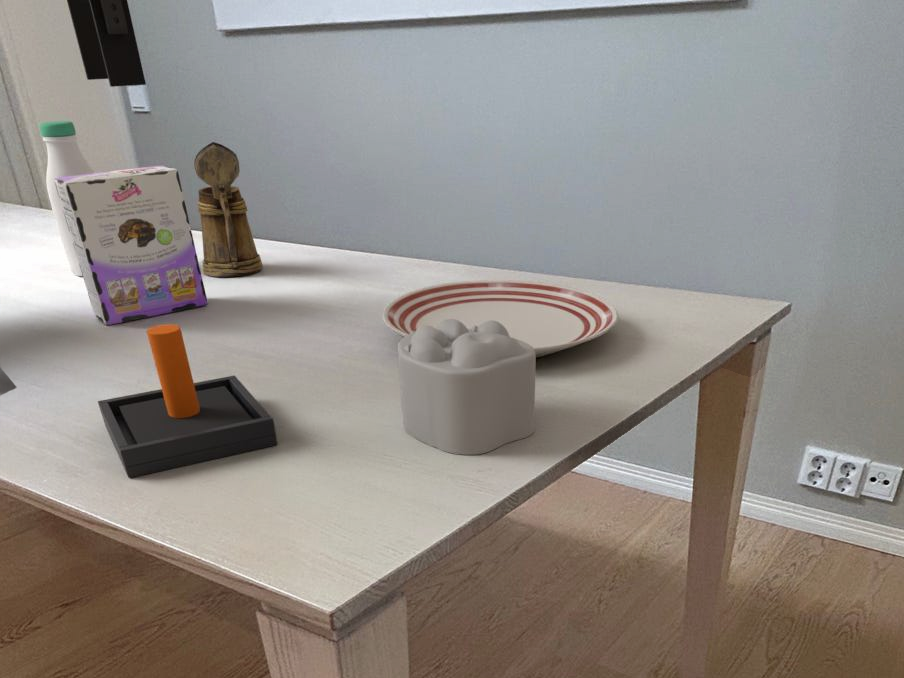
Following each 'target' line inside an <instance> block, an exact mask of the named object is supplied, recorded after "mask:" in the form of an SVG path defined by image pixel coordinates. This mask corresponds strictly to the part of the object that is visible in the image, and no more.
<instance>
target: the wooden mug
mask: <svg viewBox="0 0 904 678" xmlns="http://www.w3.org/2000/svg"><path fill="white" fill-rule="evenodd" d="M194 169H195V173H196V175H197V177H198V179H200V180H201V181H202V182H203V183H205V184H206V185H208V186H205V187H203V188H200V189H198V200H197V208H198V210H197V211H198V213H199V214H200V225H201V237H202V238H201V239H202V251H203V252H202V253H203V260H202V261H201V262H202V271H203V274H204V275H207V276H209V277H214V278H215V277H216V278H235V277H243V276H248V275H252V274H256V273H258V272H260V271H261V270H262V269H263V268H264V266H263V262H262V258H261V255H260V254H259V253H258V251H257V247H256V244H255V240H254V236H253V233H252V230H251V226H250V223H249V220H248V215H247V212H248V207H247V203H246V201H245V199H244V198H243V197H242V193H241V191H240V189H239V187H238V186H233V183H234V182H235V181H236V180H237V178H238V177H239V175H240V161H239V159H238V156H237V154H236V153H235V152H234V150H232V149H230V148H229V147H227V146H225V145H223V144H221V143H218V142H215V141H212V142H210V143H209V144H207V145H205V146H204V147H203V148H201V149H200V150H199V151H198V153H197V154H196V155H195V158H194Z"/></svg>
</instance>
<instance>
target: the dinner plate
mask: <svg viewBox="0 0 904 678" xmlns="http://www.w3.org/2000/svg"><path fill="white" fill-rule="evenodd" d="M618 318H619V315H618V311H617V309H616V308H615V307H614V305H612V304H611V303H610V302H609V301H607V300H606V299H604V298H603V297H601V296H599V295H596V294H594V293H591V292H589V291H586V290H582V289H579V288H575V287H571V286H567V285H561V284H554V283H550V282H549V283H548V282H541V281H532V280H531V281H530V280H514V279H513V280H512V279H511V280H509V279H508V280H507V279H506V280H505V279H486V280H485V279H480V280H478V279H477V280H465V281H455V282H445V283H440V284H433V285H429V286H425V287H421V288H417V289H413V290H411V291H408V292H406V293H404V294H402V295H399V296H398V297H395V298H394V299H393V300H391V301H390V302H388V304H387V305H386V306H385V307H384V309H383V310H382V320H383V322H384V324H385V325H386V326H387V328H389V329H390V330H392V331H393V332H394V333H395V334H397V335H398V336H400V337H402V338H404V337H405V336H406V335H408V334H410V333H412V332H413V331H415V332H416V330H417V329H419V328H420V327H422V326H432V327H434V328H435V327H436V326H437V325H438V324H439V323H440V322H442V321H444V320H447V319H456V320H458V321H460V322H462V323H463V324H464V325H465V326H466V328H467V329H471V328H472V327H474V326H477V327H478V326H479V325H481V324H482V323H484V322H487V321H491V320H493V321H497V322H499V323H501V324H502V325H503V326H504V327H505V328H506V330H507V331H508V334H509V336H510V337H512V338H515V339H517V340H520V341H523V342H525V343H527V344H529V345H531V346H532V347H533V348H534V350H535V355H536V358H539V357H545V356H549V355H552V354H555V353H558V352H561V351H562V350H563V351H564V350H567V349H569V348H573V347H576V346H578V345H581V344H584V343H586V342H589V341H593V340H594V339H597V338H599V337H601V336H603V335H605V334H607V333H608V332H609V331H610V330H612V329H613V328H614V326H615V325H616V324H617V323H618Z"/></svg>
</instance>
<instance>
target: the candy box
mask: <svg viewBox="0 0 904 678" xmlns="http://www.w3.org/2000/svg"><path fill="white" fill-rule="evenodd" d="M54 181H55V185H56V188H57V191H58V195H59V198H60V201H61V205H62V208H63V211H64V215H65V218H66V221H67V225H68V228H69V231H70V234H71V238H72V241H73V245H74V248H75V251H76V255H77V258H78V262H79V265H80V268H81V271H82V275H83V276H82V277H83V278H82V279H83V281H84V285H85V288H86V291H87V296H88V299H89V301H90V305H91V308H92V312H93V315H94V316H95V317H96V318H97V319H98V320H100V321H101V322H102V324H103V325H106V326H112V325H116V324H117V325H118V324H122V323H125V322H129V321H136V320H141V319H146V318H149V317H150V318H151V317H155V316H160V315H164V314H165V315H166V314H169V313H174V312H179V311H183V310H188V309H194V308H198V307H201V306H206V305H208V304H209V303H208V297H207V293H206V289H205V285H204V280H203V276H202V272H201V267H200V263H199V259H198V254H197V249H196V245H195V241H194V235H193V233H192V228H191V227H192V226H191V224H190V219H189V214H188V210H187V205H186V201H185V198H184V192H183V189H182V183H181V179H180V173H179V170H178V168H174V167H170V166H166V165H163V164H161V165H154V166H153V165H152V166H151V165H150V166H143V167H135V168H133V167H132V168H127V169H118V170H117V169H116V170H110V171H101V172H94V173H92V174H85V175H77V176H68V177H61V178H54Z"/></svg>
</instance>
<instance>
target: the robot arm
mask: <svg viewBox="0 0 904 678" xmlns="http://www.w3.org/2000/svg"><path fill="white" fill-rule="evenodd" d="M66 2H67V6H68V10H69V14H70V18H71V22H72V26H73V30H74V34H75V37H76V41H77V45H78V49H79V54H80V57H81V60H82V64H83V68H84V72H85V76H86V80H87V81H91V80H108V82H109V87H111V88H112V87H130V86H132V87H133V86H145V85H147V82H146V78H145V74H144V71H143V70H144V69H143V65H142V61H141V55H140V51H139V48H138V43H137V38H136V33H135V29H134V25H133V20H132V16H131V12H130V7H129V2H128V0H66Z"/></svg>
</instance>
